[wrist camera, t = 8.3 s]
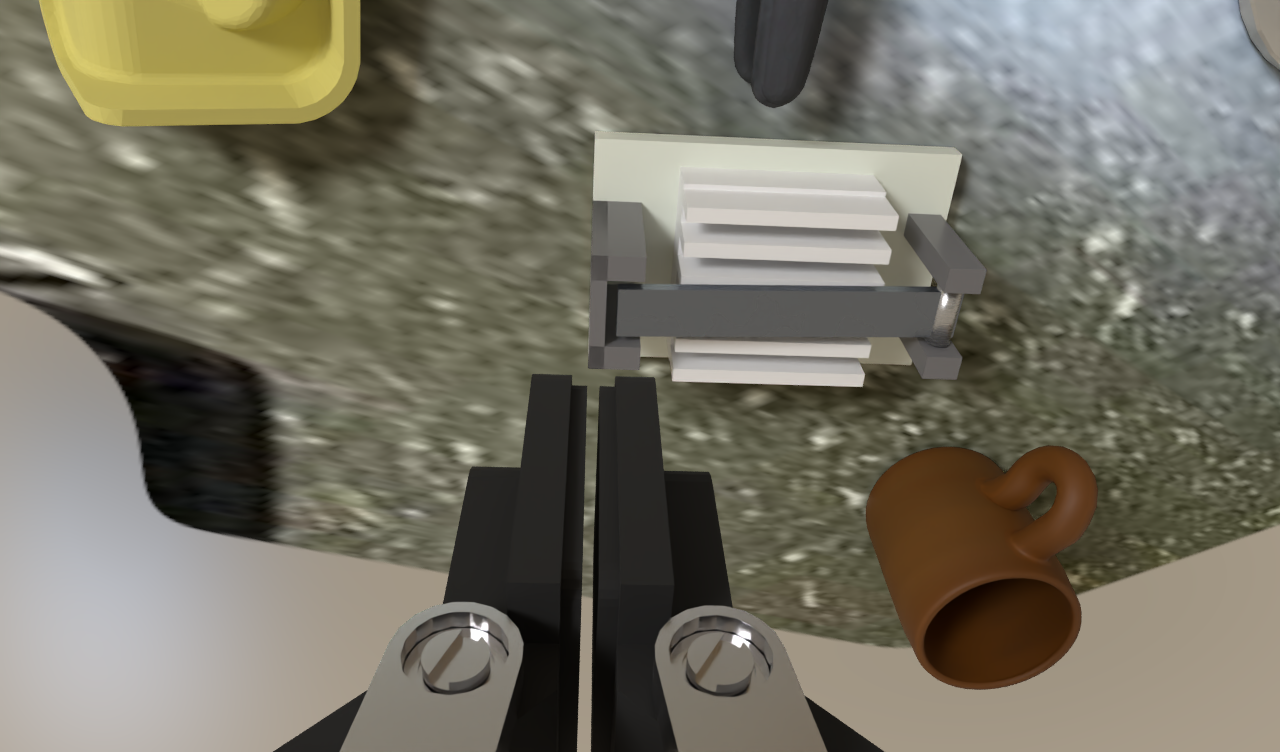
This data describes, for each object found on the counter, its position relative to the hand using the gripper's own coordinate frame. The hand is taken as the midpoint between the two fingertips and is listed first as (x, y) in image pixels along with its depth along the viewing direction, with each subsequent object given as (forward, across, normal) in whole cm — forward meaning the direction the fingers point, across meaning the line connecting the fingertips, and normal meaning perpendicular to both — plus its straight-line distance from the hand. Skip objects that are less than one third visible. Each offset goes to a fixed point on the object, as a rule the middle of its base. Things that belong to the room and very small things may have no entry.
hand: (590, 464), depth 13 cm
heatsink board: (+27, -8, +8) cm, 29 cm away
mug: (+27, -19, +20) cm, 39 cm away
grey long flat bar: (+22, -8, +8) cm, 25 cm away
